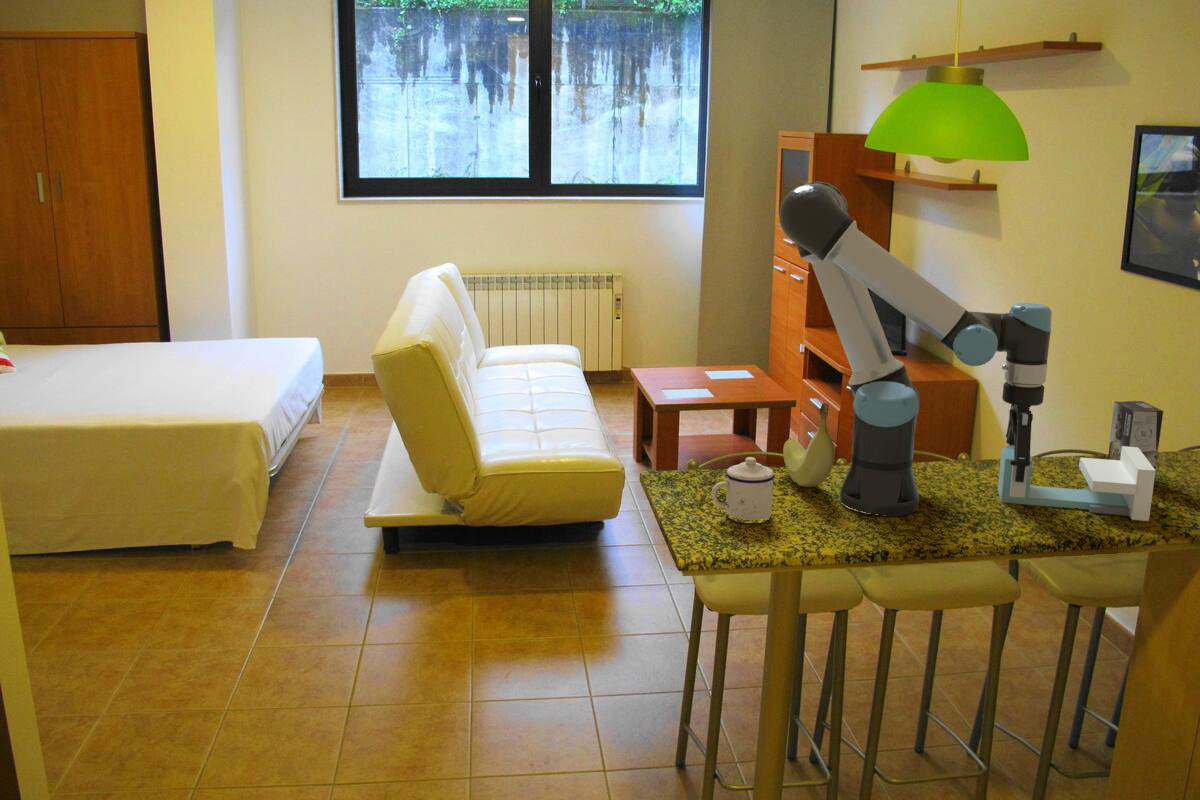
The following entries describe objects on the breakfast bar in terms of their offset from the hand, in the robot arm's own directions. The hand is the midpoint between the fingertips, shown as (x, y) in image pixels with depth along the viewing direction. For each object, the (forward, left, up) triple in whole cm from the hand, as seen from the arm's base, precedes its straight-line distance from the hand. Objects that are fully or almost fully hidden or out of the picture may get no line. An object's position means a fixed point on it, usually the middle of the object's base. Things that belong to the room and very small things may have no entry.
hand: (1013, 486), depth 219 cm
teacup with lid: (-51, -27, -2) cm, 58 cm away
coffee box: (+25, +19, -2) cm, 31 cm away
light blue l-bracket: (+9, 0, -2) cm, 9 cm away
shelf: (+18, 0, -2) cm, 18 cm away
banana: (-41, -4, -2) cm, 41 cm away
